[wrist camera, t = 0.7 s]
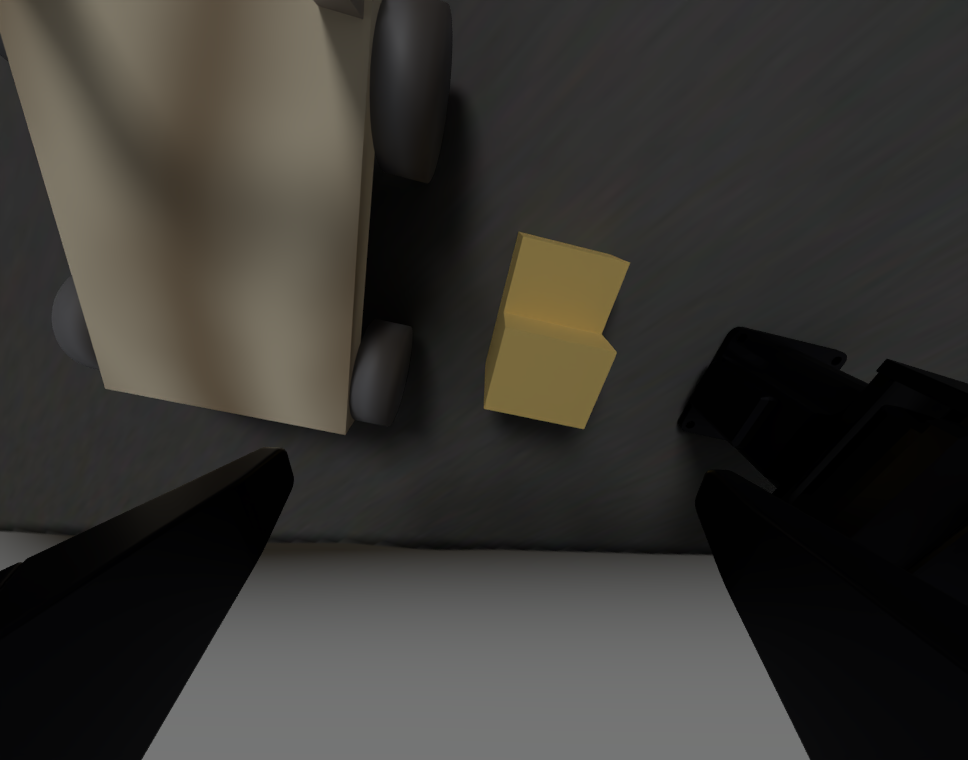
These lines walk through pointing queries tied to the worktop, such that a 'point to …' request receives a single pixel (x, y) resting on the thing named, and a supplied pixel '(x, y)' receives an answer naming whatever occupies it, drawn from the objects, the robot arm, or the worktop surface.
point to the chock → (552, 332)
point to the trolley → (230, 189)
